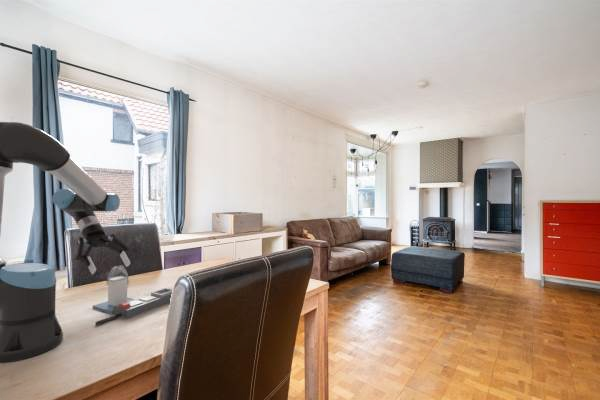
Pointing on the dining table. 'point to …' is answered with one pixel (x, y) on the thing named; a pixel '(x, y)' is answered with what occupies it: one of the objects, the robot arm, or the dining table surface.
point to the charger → (117, 290)
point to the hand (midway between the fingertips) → (112, 268)
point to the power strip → (140, 305)
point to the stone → (117, 272)
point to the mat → (107, 306)
